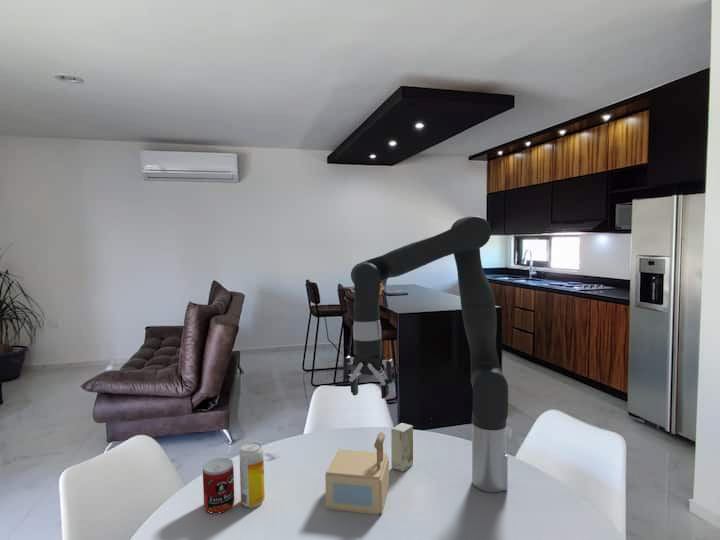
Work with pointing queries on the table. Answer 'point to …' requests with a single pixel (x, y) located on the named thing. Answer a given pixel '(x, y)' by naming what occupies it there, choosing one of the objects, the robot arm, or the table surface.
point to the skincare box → (402, 446)
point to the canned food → (218, 485)
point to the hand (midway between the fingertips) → (369, 396)
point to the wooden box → (357, 492)
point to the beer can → (252, 474)
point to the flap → (359, 462)
